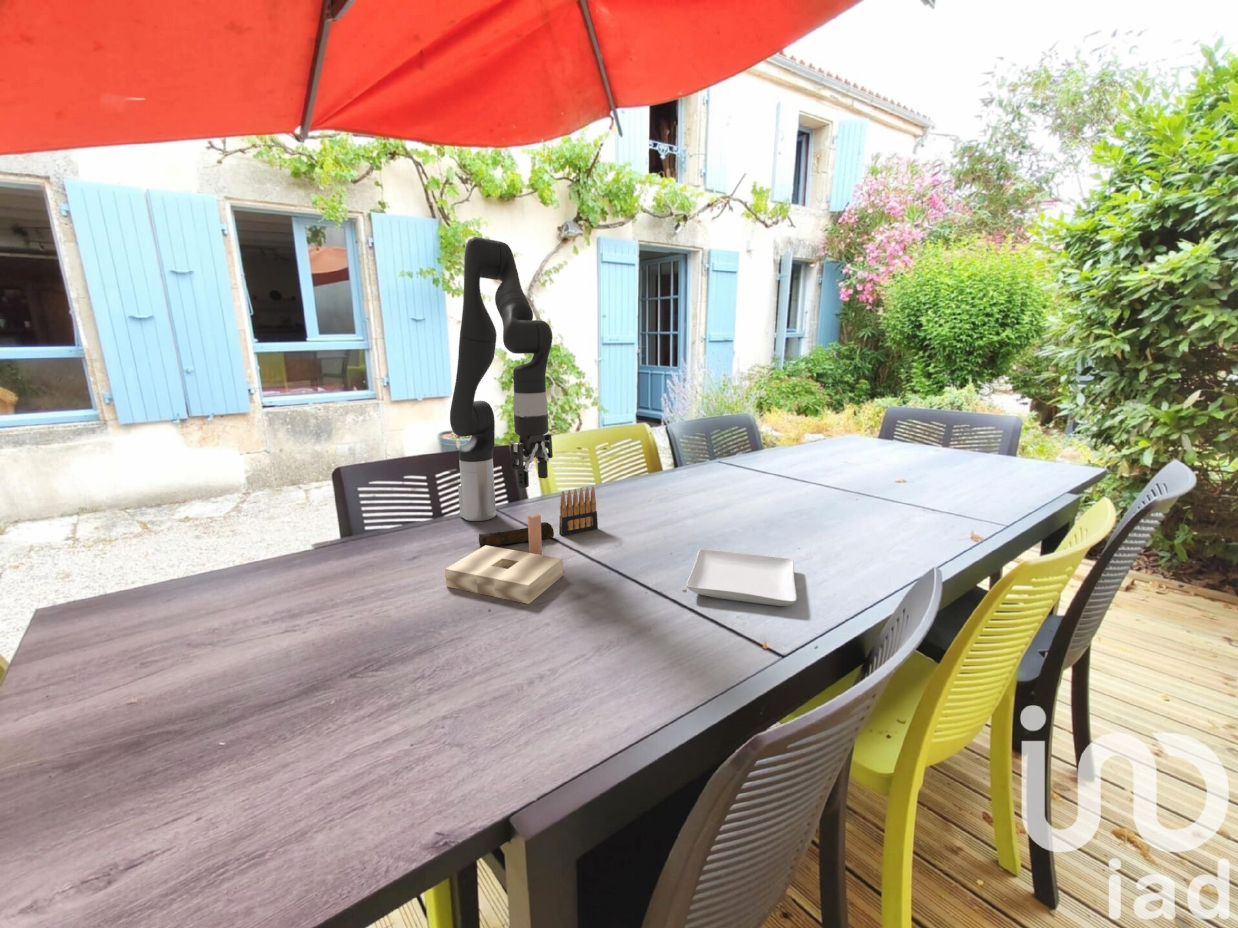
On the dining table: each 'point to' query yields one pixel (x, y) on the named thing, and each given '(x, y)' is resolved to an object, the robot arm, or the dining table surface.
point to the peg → (534, 534)
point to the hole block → (505, 573)
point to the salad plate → (743, 577)
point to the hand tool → (513, 536)
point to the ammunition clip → (578, 513)
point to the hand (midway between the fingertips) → (533, 482)
